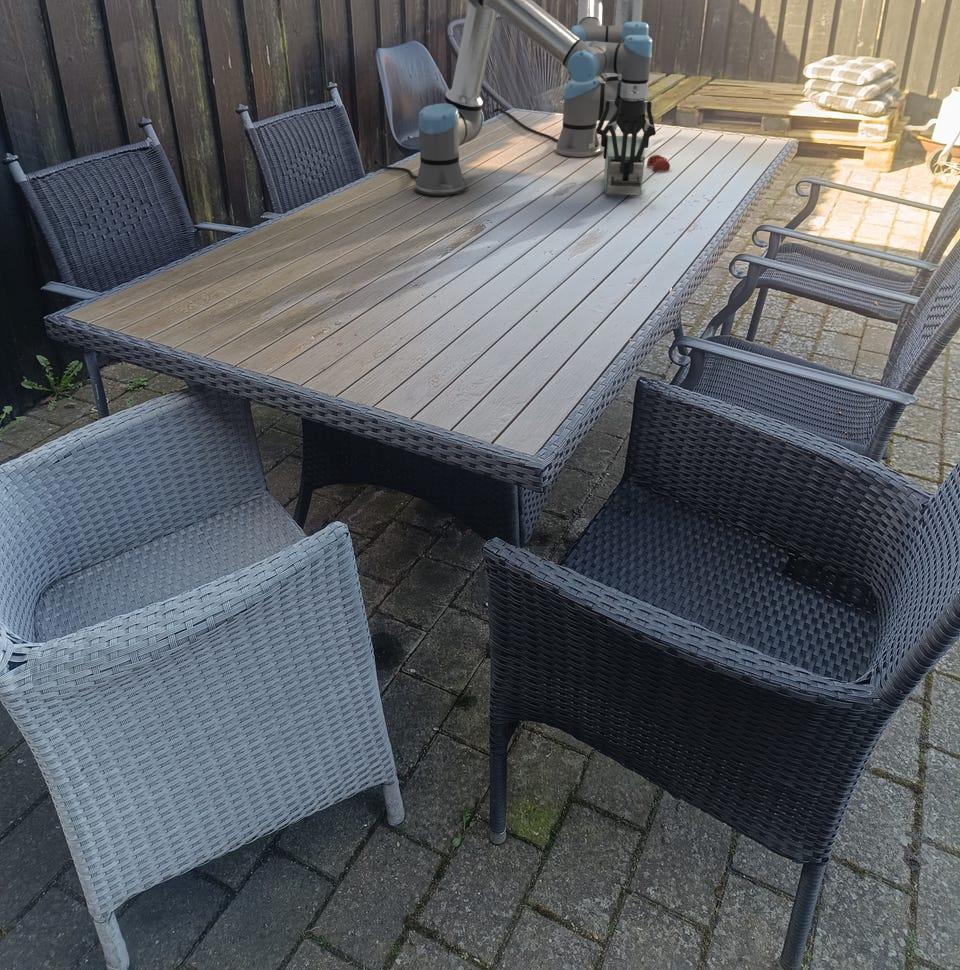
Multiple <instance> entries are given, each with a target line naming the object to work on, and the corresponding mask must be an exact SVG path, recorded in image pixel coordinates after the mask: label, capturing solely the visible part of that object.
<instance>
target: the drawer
mask: <svg viewBox="0 0 960 970" xmlns="http://www.w3.org/2000/svg"><path fill="white" fill-rule="evenodd" d="M625 161H630V160H625ZM642 170H643V163H640V161H635V162H634V167H633V173H632V174H629V178H628V181H623V174H620V161H618V160H615V159H611V162H610V170H609V181H608V192H607V195H622V196H623V195H624V196H641V195H640V187H641V178H642Z"/></svg>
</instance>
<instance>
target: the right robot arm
mask: <svg viewBox="0 0 960 970" xmlns="http://www.w3.org/2000/svg"><path fill="white" fill-rule="evenodd" d="M643 2H644V0H615V13H614V25H603V0H577V22H576V23H577V24H576V25H572V26H571V30H570V31H571V32H572V33H573V34H575V35H576V36H577V37H578V38H580V40H582V41H583V42H586V41H598V42H609V43H624V41H625V38H626V36H629V35H646V36H649V24H648V23H647V22H644V21H642V15H643V4H644V3H643ZM621 78H622V74H616V73H608V75H607V76H606V79H605V82H601V79H600V78H599V77H597V76H596V77H595V78H594V79H592V80H591V81H587V82H582V83H579V82H576V81H574V80H573V79H571V80H570V81H568V82H567V83H566V84H565V87H564V93H563V94H564V95H563V112H562V128H561V131H560V135H559V136H558V138H556V137H554V136H552V135H550V134H547V133H544V132H541V131H538V130H535V129H533V128H531V127H528V126H527V125H525V124H524V123H522V122H520V121H519V119H517V118H516V117H515V116H514V115H512V114H511V113H509V112H508V111H505V110H504V109H502V108H499V107H498V108H495V109H494V110H493V113H496V112H501V113H502V114H505V115H507V116H508V117H509V118H511V119H512V120H513V121H514V122H516V123H517V124H518V125H519V126H521V128H523V129H525V130H527V131H529V132H531V133H534V134H536V135H539V136H542V137H545V138H547V139H549V140H552V141H553V142H555V143H556V146H555V152H556V153H557V154H558V155H561V156H562V157H563V156H564V157H570V158H590V157H596V156H598V155H599V154H600V153H601V148H603V159H604V160H605V159H606V153H607V142H608V136H609V135H608V132H610V131H609V129H608V124H610V123H611V124H612V123H613V122H615V121H616V118H617V116H618V112H619V101H620V99H621V98H622V97H620V89H621ZM646 101H647V103H646V115H647V118H648V123H649V124H652V125H653V130H652V132H651V133H650V134H649V136H648V139H647V142H646V145H645V148H644V149H648V148H649V143H650V137H652V136H656V134H657V133H656V127H655V123H654V118H653V113H652V105H653V104H652V103H653V102H652V100H651V99H648V100H646ZM597 122H598V123H597ZM605 122H607V123H606V125H605V126H604V124H605ZM603 126H604V128H603ZM644 127H645V125H644V126H643V127H642V129H641V130H642V132H643V133H644V132H645V130H644ZM602 128H603V129H602ZM599 135H600V137H601V138H600V140H599Z"/></svg>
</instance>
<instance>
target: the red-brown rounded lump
mask: <svg viewBox="0 0 960 970" xmlns="http://www.w3.org/2000/svg"><path fill="white" fill-rule="evenodd" d="M670 166H671V165H670V163H669V161H668V158H667V157H665V156H661V154H653V155H651V156H649V157H648V159H647V162H646V167H647V168H649V167H652V171H653V172H662V171H669V170H670V169H671V168H670Z"/></svg>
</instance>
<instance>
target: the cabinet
mask: <svg viewBox="0 0 960 970" xmlns="http://www.w3.org/2000/svg"><path fill="white" fill-rule="evenodd" d="M642 137H643V136H638V135H637V138H636V148H635V156H636V155H637V152H638V149H639V146H640V143H641V140H642ZM616 139H617V146H618V153H619V155H620V156H621V149H622V139H623V135H616ZM631 139H632V135H628V138H627V147H626V157H625V160H630V150H631ZM611 159H615V156H614V149H613V142H612V135H608V142H607V153H606V159H604V168H603V176H604V177H603V178H604V179H603V180H604V195H605V194H607V192H608V181H609V170H610V162H611ZM645 160H646V154H645V150H644V151H643V154H642V157H641V159H640V163H643V170H642V178H641V187H640V195H639V196H641V195H642V187H643V178H644V172H645V171H644V170H645V163H646V162H645ZM607 195H608V194H607Z"/></svg>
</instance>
